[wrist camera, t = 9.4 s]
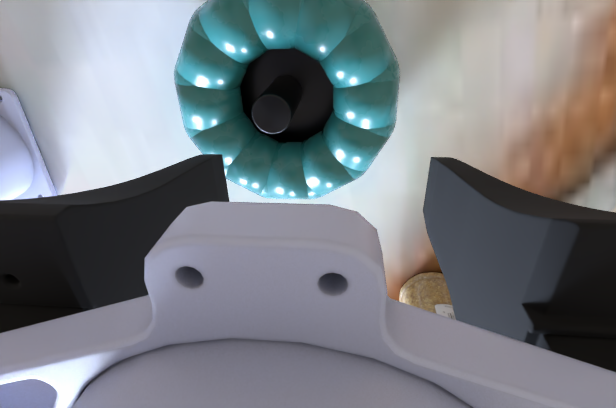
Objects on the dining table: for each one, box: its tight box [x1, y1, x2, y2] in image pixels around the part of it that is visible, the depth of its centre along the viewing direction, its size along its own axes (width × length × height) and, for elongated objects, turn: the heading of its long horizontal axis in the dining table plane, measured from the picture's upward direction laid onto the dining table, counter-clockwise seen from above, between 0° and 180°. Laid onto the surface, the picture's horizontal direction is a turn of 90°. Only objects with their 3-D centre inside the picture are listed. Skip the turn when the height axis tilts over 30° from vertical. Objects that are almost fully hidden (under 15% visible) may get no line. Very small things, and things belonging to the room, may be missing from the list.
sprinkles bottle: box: [399, 272, 456, 320], centre depth 22 cm, size 5×5×14 cm
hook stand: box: [240, 49, 333, 142], centre depth 19 cm, size 8×8×6 cm
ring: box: [174, 0, 400, 199], centre depth 19 cm, size 11×11×3 cm
